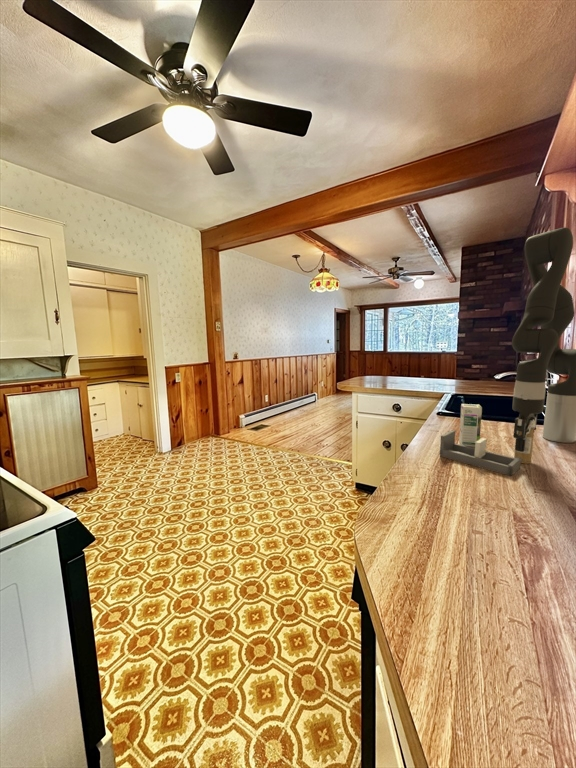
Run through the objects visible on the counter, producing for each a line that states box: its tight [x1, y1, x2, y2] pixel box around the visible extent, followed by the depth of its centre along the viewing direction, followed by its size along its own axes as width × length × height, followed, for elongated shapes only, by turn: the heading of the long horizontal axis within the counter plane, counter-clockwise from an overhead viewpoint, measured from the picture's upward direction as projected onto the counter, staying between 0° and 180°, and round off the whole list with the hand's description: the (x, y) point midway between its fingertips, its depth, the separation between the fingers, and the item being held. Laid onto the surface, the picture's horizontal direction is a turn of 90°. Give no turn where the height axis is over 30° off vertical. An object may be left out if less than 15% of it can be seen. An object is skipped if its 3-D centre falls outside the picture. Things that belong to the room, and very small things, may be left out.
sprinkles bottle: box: [513, 421, 537, 464], centre depth 97 cm, size 5×5×13 cm
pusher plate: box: [474, 437, 488, 458], centre depth 97 cm, size 6×1×5 cm, turn 130°
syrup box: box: [458, 403, 483, 448], centre depth 112 cm, size 6×6×14 cm
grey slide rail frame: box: [439, 429, 522, 477], centre depth 98 cm, size 8×20×7 cm, turn 40°
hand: (523, 447), depth 97 cm, fingers open, 7 cm apart
